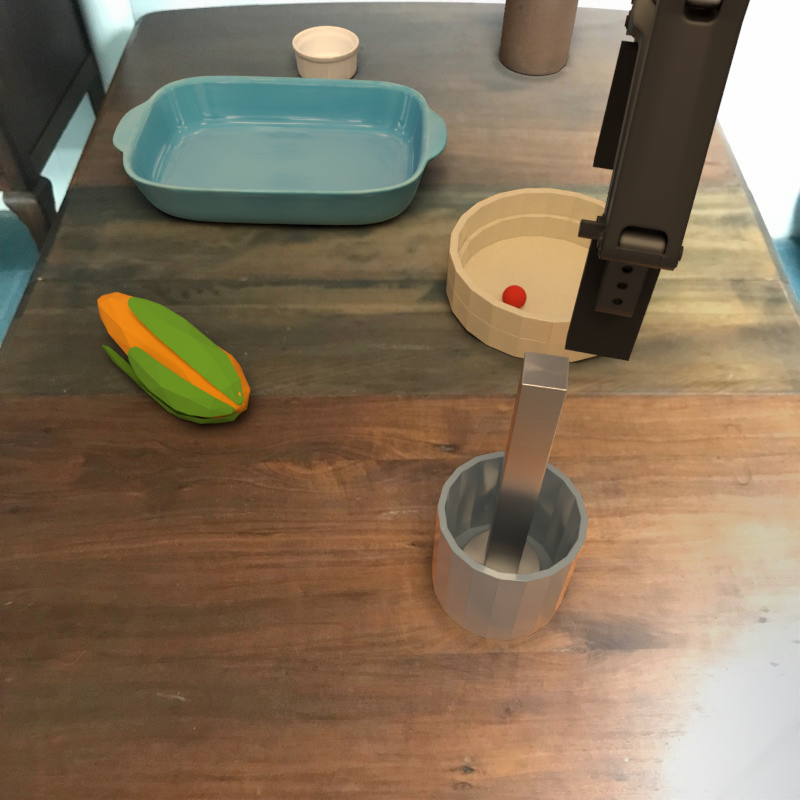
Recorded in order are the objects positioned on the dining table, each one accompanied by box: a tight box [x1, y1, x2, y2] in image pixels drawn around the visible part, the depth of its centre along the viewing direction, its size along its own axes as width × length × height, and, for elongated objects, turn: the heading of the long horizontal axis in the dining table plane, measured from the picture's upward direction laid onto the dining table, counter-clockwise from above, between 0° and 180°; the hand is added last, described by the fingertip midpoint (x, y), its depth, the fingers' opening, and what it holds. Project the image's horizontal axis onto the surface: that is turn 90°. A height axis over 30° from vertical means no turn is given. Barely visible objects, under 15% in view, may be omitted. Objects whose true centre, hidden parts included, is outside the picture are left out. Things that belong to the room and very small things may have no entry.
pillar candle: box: [498, 0, 579, 76], centre depth 106 cm, size 10×10×15 cm
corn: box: [96, 291, 252, 425], centre depth 71 cm, size 7×8×20 cm
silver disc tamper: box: [463, 352, 570, 575], centre depth 51 cm, size 6×6×24 cm
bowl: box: [445, 187, 606, 363], centre depth 79 cm, size 20×20×6 cm
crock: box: [431, 450, 589, 641], centre depth 57 cm, size 10×10×10 cm
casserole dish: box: [112, 75, 448, 226], centre depth 90 cm, size 37×22×7 cm, turn 87°
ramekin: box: [291, 25, 360, 79], centre depth 107 cm, size 9×9×4 cm
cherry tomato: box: [502, 285, 527, 309], centre depth 78 cm, size 2×2×2 cm
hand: (608, 248), depth 38 cm, fingers open, 13 cm apart
